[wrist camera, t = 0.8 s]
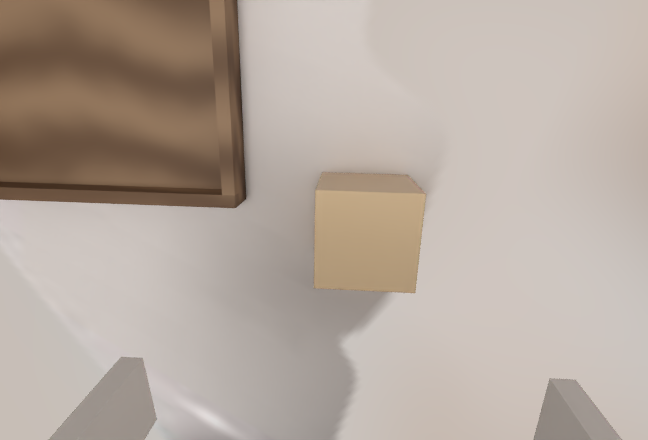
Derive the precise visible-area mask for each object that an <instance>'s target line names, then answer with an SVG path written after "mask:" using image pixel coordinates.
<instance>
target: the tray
mask: <svg viewBox="0 0 648 440" xmlns="http://www.w3.org/2000/svg"><path fill="white" fill-rule="evenodd" d="M0 199H3V200H30V201H57V202H84V203H111V204H138V205H165V206H192V207H219V208H236V207H237V206H238V205H240V204H241V203H242V202H243V201H244V200H245V199H246V188H245V165H244V143H243V121H242V99H241V77H240V55H239V33H238V11H237V0H0Z"/></svg>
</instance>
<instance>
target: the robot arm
mask: <svg viewBox="0 0 648 440" xmlns="http://www.w3.org/2000/svg"><path fill="white" fill-rule="evenodd" d="M156 420H157V418H156V414H155V409H154V405H153V401H152V396H151V392H150V388H149V383H148V379H147V375H146V370H145V366H144V362H143V358H131V357H121V358H120V359H119V360H118V361H117V362H116V363H115V365H114V366H113V367H112V368H111V369H110V370H109V371H108V372H107V374H106V375H105V376H104V377H103V378H102V379H101V381H100V382H99V383H98V384H97V385H96V386H95V387H94V388H93V390H92V391H91V392H90V393H89V394H88V395H87V396H86V398H85V399H84V400H83V401H82V402H81V403H80V404H79V406H78V407H77V408H76V409H75V410H74V411H73V412H72V414H71V415H70V416H69V417H68V418H67V419H66V420H65V421H64V423H63V424H62V425H61V426H60V427H59V428H58V429H57V431H56V432H55V433H54V434H53V435H52V436H51V437H50V439H49V440H144V439H145V438H146V436H147V434H148V433H149V431H150V429H151V428H152V426H153V424H154V423H155V421H156ZM534 440H622V439H621V438H620V437H619V435H618V434H617V433H616V431H615V430H614V429H613V427H612V426H611V425H610V424H609V422H608V421H607V420H606V418H605V417H604V416H603V414H602V413H601V412H600V411H599V409H598V408H597V407H596V405H595V404H594V403H593V402H592V400H591V399H590V398H589V396H588V395H587V394H586V392H585V391H584V390H583V389H582V387H581V386H580V385H579V383H578V382H577V381H576V380H570V379H569V380H568V379H549V383H548V387H547V390H546V394H545V398H544V402H543V406H542V409H541V413H540V417H539V421H538V425H537V428H536V432H535V436H534Z"/></svg>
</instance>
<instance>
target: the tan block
mask: <svg viewBox="0 0 648 440" xmlns="http://www.w3.org/2000/svg"><path fill="white" fill-rule="evenodd" d="M425 199H426V193H425V192H424V191H423V190H422V189H421V188H420V187H419V186H418V185H417V184H416V183H415V182H414V181H413V180H412V179H411V178H410V177H409V176H408V175H397V174H364V173H332V172H322V174H321V177H320V179H319V182H318V185H317V187H316V190H315V249H314V288H319V289H340V290H361V291H382V292H403V293H415V290H416V281H417V272H418V262H419V254H420V245H421V235H422V226H423V217H424V208H425Z"/></svg>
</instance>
